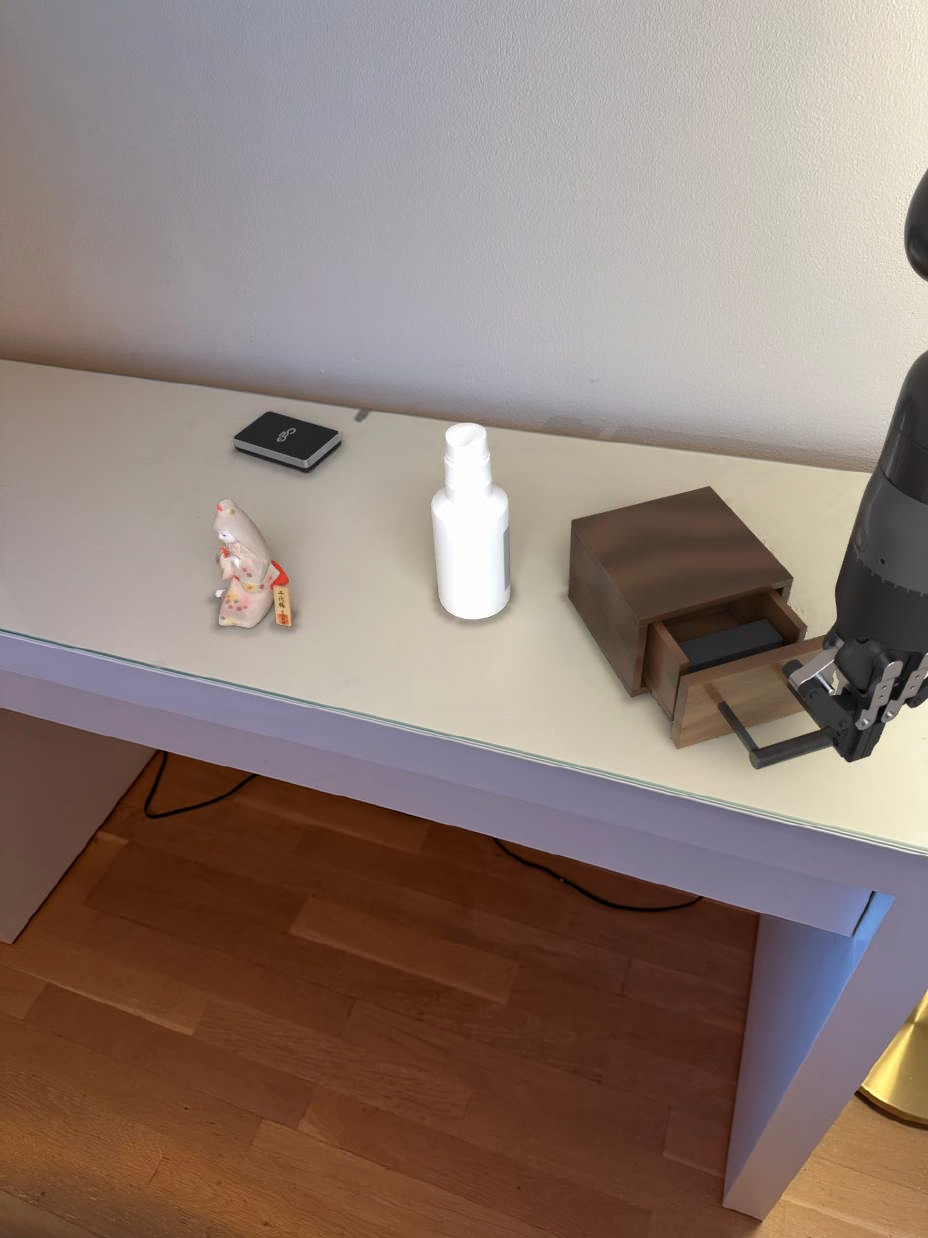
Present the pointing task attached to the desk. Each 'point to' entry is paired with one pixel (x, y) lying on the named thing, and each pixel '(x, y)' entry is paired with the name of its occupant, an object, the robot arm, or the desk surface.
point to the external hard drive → (287, 441)
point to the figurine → (248, 571)
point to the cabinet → (662, 570)
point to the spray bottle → (471, 529)
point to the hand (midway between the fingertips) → (849, 749)
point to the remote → (730, 645)
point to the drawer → (733, 679)
